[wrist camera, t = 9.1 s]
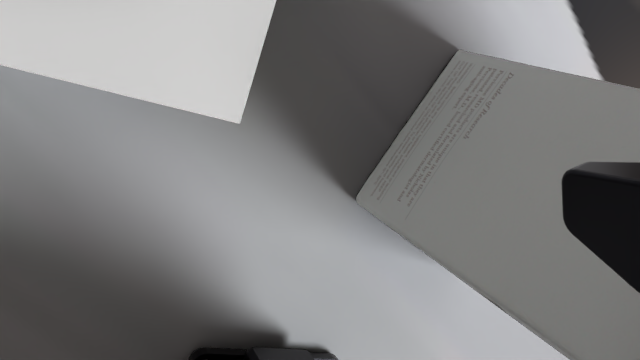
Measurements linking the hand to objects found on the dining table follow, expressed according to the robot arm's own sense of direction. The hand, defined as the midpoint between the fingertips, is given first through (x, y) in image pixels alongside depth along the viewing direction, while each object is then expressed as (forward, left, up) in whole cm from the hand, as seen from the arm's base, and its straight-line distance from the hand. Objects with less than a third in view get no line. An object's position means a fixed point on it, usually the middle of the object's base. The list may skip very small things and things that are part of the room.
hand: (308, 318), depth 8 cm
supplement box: (+1, -13, -13) cm, 19 cm away
